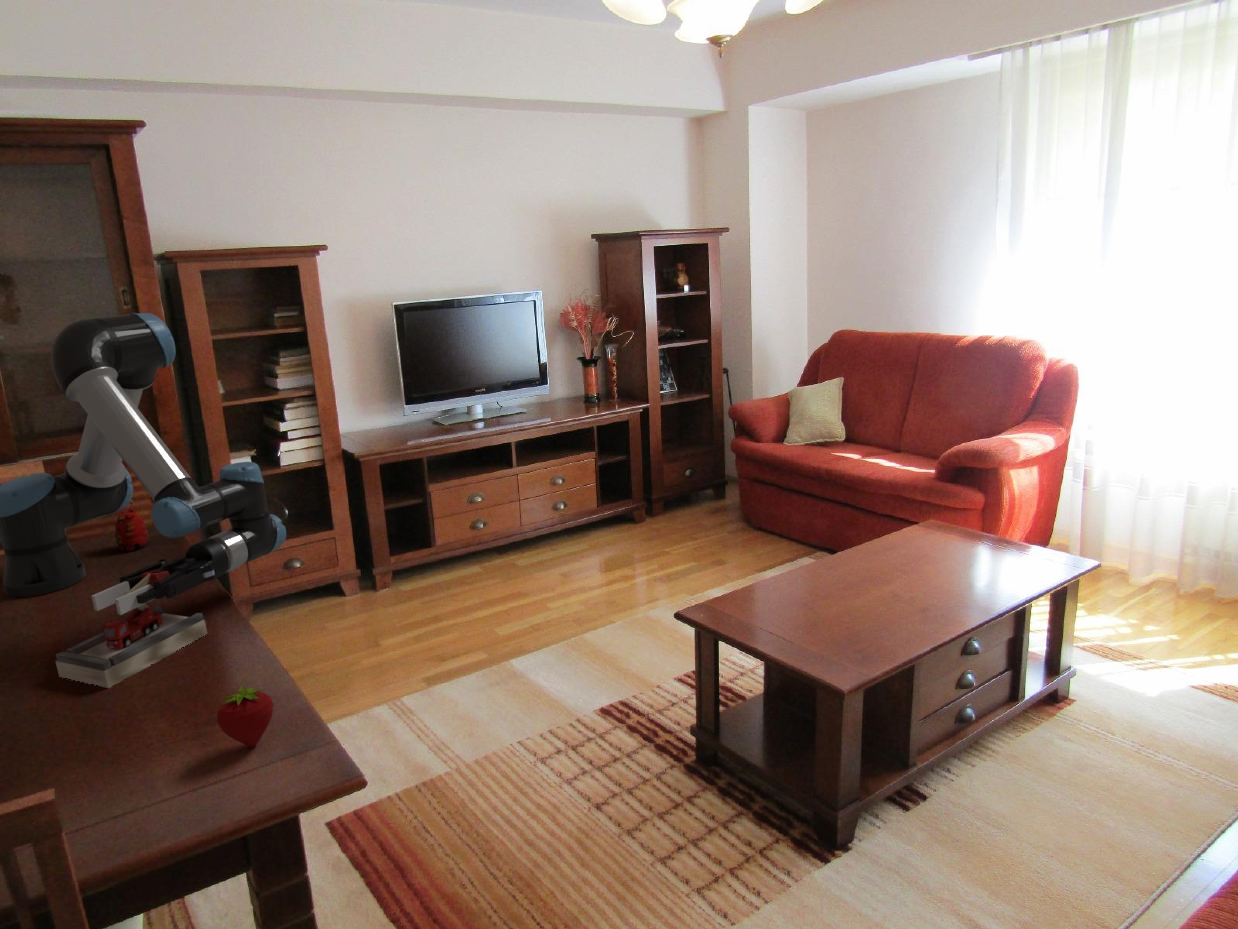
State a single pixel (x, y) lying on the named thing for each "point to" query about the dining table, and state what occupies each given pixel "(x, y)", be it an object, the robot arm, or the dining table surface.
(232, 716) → the strawberry
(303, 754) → the dining table surface
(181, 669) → the dining table surface
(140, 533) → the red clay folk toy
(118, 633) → the toy fire truck
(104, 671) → the dock
